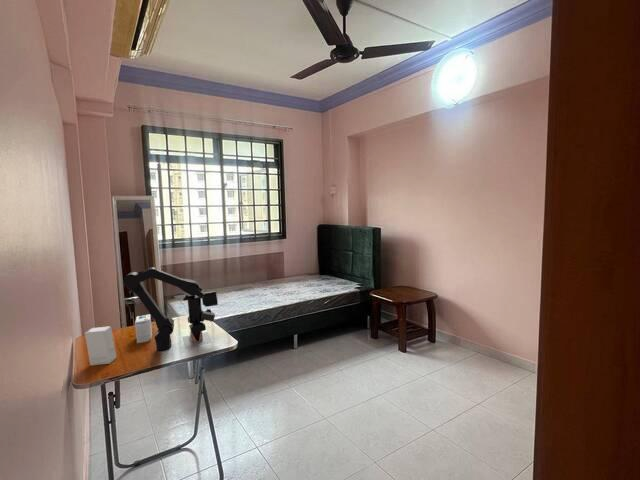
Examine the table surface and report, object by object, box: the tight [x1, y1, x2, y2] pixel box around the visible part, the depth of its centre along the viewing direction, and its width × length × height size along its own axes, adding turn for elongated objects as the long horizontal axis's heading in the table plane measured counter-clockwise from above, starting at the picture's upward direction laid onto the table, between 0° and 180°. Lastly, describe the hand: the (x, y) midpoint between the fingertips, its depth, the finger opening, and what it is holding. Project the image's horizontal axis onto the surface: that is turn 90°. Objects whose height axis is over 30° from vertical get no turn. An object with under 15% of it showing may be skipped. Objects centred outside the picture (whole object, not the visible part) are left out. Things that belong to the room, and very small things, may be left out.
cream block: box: [188, 327, 203, 342], centre depth 165 cm, size 4×5×9 cm
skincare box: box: [84, 325, 117, 366], centre depth 145 cm, size 8×6×15 cm
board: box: [180, 327, 213, 349], centre depth 168 cm, size 28×12×1 cm, turn 26°
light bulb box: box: [134, 313, 153, 344], centre depth 171 cm, size 11×7×11 cm, turn 25°
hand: (197, 340), depth 159 cm, fingers closed
